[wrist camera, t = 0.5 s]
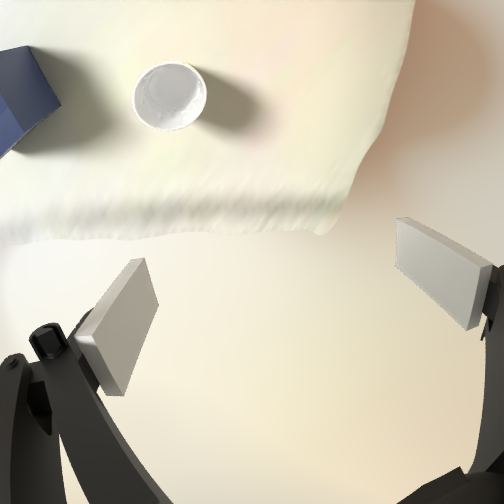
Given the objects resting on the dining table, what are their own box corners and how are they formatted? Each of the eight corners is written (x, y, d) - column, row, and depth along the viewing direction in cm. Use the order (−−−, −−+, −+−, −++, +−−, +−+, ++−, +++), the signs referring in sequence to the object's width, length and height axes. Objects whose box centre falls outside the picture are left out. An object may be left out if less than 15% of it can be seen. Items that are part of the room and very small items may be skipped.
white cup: (137, 68, 31) (123, 77, 24) (194, 49, 31) (196, 52, 24) (154, 117, 37) (146, 140, 29) (208, 100, 37) (214, 118, 29)
